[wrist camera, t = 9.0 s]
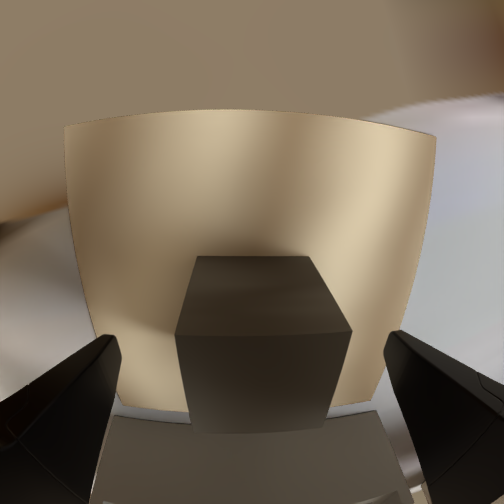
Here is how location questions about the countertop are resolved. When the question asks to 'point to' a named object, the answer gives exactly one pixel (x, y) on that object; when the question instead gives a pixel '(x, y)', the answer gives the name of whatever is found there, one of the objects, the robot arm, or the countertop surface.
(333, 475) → the box
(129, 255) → the cover plate
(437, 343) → the countertop surface
